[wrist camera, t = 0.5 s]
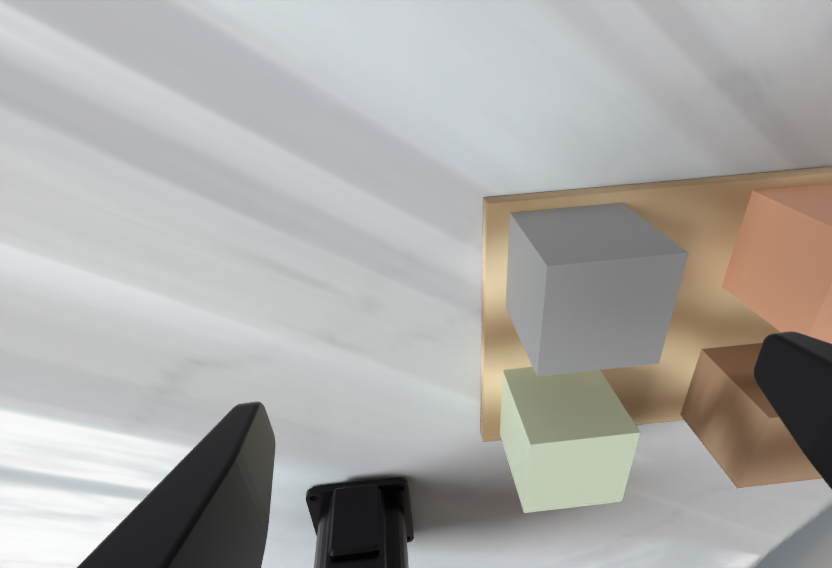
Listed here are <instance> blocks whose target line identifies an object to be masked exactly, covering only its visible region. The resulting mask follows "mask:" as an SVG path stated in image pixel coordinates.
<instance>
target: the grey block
mask: <svg viewBox="0 0 832 568" xmlns="http://www.w3.org/2000/svg"><path fill="white" fill-rule="evenodd" d="M688 254H689V252H687V251H686V250H685V249H683V248H682V247H681V246H679V245H678V244H677V243H675V242H674V241H673V240H671V239H670V238H668V237H667V236H666V235H664V234H663V233H662V232H660V231H659V230H658V229H656V228H655V227H654V226H652V225H651V224H650V223H648V222H647V221H646V220H644V219H643V218H642V217H640V216H639V215H638V214H636V213H635V212H633V211H632V210H631V209H629V208H628V207H627V206H625V205H624V204H623V203H611V204H599V205H588V206H577V207H566V208H555V209H544V210H533V211H522V212H511V213H510V218H509V241H508V263H507V286H506V310H507V312H508V314H509V317H510V319H511V321H512V323H513V325H514V327H515V330H516V332H517V334H518V336H519V338H520V340H521V343H522V345H523V347H524V349H525V351H526V354H527V356H528V358H529V360H530V362H531V364H532V367H533V369H534V371H535V373H536V375H537V376H545V375H555V374H564V373H574V372H583V371H593V370H602V369H612V368H621V367H631V366H640V365H650V364H659V362H660V358H661V354H662V351H663V347H664V343H665V339H666V336H667V332H668V328H669V325H670V321H671V317H672V313H673V310H674V306H675V302H676V298H677V295H678V291H679V287H680V284H681V280H682V276H683V272H684V269H685V265H686V261H687V258H688Z"/></svg>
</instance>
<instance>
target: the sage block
mask: <svg viewBox="0 0 832 568" xmlns="http://www.w3.org/2000/svg"><path fill="white" fill-rule="evenodd" d="M639 436H640V431H639V429H638V428H637V426H636V425H635V423H634V422H633V420H632V419H631V417H630V416H629V414H628V412H627V411H626V409H625V408H624V406H623V405H622V403H621V402H620V400H619V398H618V397H617V395H616V394H615V392H614V391H613V389H612V388H611V386H610V385H609V383H608V381H607V380H606V378H605V377H604V375H603V374H602V372H601V371H600V370H593V371H583V372H574V373H564V374H555V375H545V376H537V375H536V373H535V371H534V369H533V367H526V368H516V369H506V370H503V375H502V398H501V420H500V437H501V440H502V443H503V446H504V450H505V453H506V456H507V459H508V463H509V466H510V469H511V472H512V476H513V479H514V482H515V485H516V489H517V492H518V495H519V498H520V502H521V505H522V508H523V512H524V513H529V512H538V511H546V510H555V509H563V508H572V507H580V506H589V505H598V504H606V503H615V502H622V500H623V496H624V492H625V488H626V485H627V481H628V477H629V473H630V470H631V466H632V462H633V459H634V455H635V451H636V447H637V444H638V440H639Z"/></svg>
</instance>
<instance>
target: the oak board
mask: <svg viewBox="0 0 832 568" xmlns="http://www.w3.org/2000/svg"><path fill="white" fill-rule="evenodd" d="M821 184H832V167H822V168H810V169H799V170H788V171H776V172H765V173H754V174H743V175H731V176H720V177H709V178H698V179H686V180H675V181H664V182H652V183H641V184H630V185H619V186H607V187H596V188H585V189H573V190H562V191H551V192H540V193H528V194H517V195H506V196H495V197H483V270H482V345H481V420H480V432H481V436H482V440H483V442H488V441H497V440H501V437H500V420H501V398H502V375H503V370H506V369H516V368H526V367H532V364H531V362H530V360H529V358H528V356H527V354H526V351H525V349H524V347H523V345H522V343H521V340H520V338H519V336H518V334H517V332H516V330H515V327H514V325H513V323H512V321H511V319H510V317H509V314H508V312H507V310H506V286H507V263H508V241H509V218H510V213H511V212H522V211H533V210H544V209H555V208H566V207H577V206H588V205H599V204H611V203H623V204H624V205H625V206H627V207H628V208H629V209H631V210H632V211H633V212H635V213H636V214H638V215H639V216H640V217H642V218H643V219H644V220H646V221H647V222H648V223H650V224H651V225H652V226H654V227H655V228H656V229H658V230H659V231H660V232H662V233H663V234H664V235H666V236H667V237H668V238H670V239H671V240H673V241H674V242H675V243H677V244H678V245H679V246H681V247H682V248H683V249H685V250H686V251H687V252H689V254H688V258H687V261H686V265H685V269H684V272H683V276H682V280H681V284H680V287H679V291H678V295H677V298H676V302H675V306H674V310H673V313H672V317H671V321H670V325H669V328H668V332H667V336H666V339H665V343H664V347H663V351H662V354H661V358H660V362H659V364H650V365H640V366H631V367H621V368H612V369H602V370H600V371H601V372H602V374H603V375H604V377H605V378H606V380H607V381H608V383H609V385H610V386H611V388H612V389H613V391H614V392H615V394H616V395H617V397H618V398H619V400H620V402H621V403H622V405H623V406H624V408H625V409H626V411H627V412H628V414H629V416H630V417H631V419H632V420H633V422H634V423H635V425H642V424H651V423H660V422H669V421H678V420H684V419H683V418H682V416H681V415H680V414H681V411H682V407H683V404H684V401H685V398H686V395H687V392H688V389H689V386H690V383H691V380H692V376H693V373H694V370H695V367H696V364H697V361H698V358H699V355H700V352H701V349H708V348H718V347H727V346H737V345H747V344H756V343H763V340H764V339H765V338H766V337H767V336H768V335H770V334H773V333H780V331H779V330H777V329H776V328H775V327H773V326H772V325H771V324H770V323H768V322H767V321H766V320H764V319H763V318H762V317H760V316H759V315H758V314H757V313H755V312H754V311H753V310H751V309H750V308H749V307H747V306H746V305H745V304H744V303H742V302H741V301H740V300H738V299H737V298H736V297H734V296H733V295H732V294H731V293H729V292H728V291H727V290H725V289H724V288H723V287H722V283H723V280H724V277H725V274H726V271H727V268H728V265H729V262H730V259H731V256H732V252H733V249H734V246H735V243H736V240H737V237H738V234H739V231H740V228H741V225H742V222H743V218H744V215H745V212H746V209H747V206H748V203H749V200H750V197H751V194H752V191H755V190H766V189H777V188H788V187H799V186H810V185H821Z"/></svg>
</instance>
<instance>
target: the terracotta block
mask: <svg viewBox="0 0 832 568" xmlns="http://www.w3.org/2000/svg"><path fill="white" fill-rule="evenodd" d="M722 287H723V288H724V289H725V290H727V291H728V292H729V293H731V294H732V295H733V296H734V297H736V298H737V299H738V300H740V301H741V302H742V303H744V304H745V305H746V306H747V307H749V308H750V309H751V310H753V311H754V312H755V313H757V314H758V315H759V316H760V317H762V318H763V319H764V320H766V321H767V322H768V323H770V324H771V325H772V326H773V327H775V328H776V329H777V330H779V331H780V332H788V331H793V332H798V333H801V334H804V335H807V336H810V337H813V338H816V339H819V340H822V341H825V342H828V343H831V344H832V184H821V185H810V186H799V187H788V188H777V189H766V190H755V191H752V194H751V197H750V200H749V203H748V206H747V209H746V212H745V215H744V218H743V222H742V225H741V228H740V231H739V234H738V237H737V240H736V243H735V246H734V249H733V252H732V256H731V259H730V262H729V265H728V268H727V271H726V274H725V277H724V280H723V283H722Z"/></svg>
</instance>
